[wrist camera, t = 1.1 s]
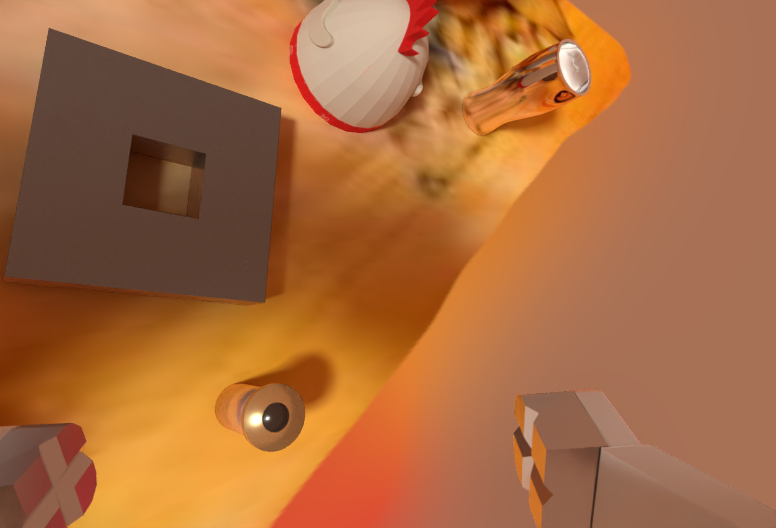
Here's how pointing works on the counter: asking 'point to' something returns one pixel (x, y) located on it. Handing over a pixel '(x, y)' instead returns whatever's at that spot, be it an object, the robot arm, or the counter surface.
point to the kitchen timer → (361, 59)
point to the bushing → (262, 414)
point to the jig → (108, 177)
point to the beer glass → (530, 88)
